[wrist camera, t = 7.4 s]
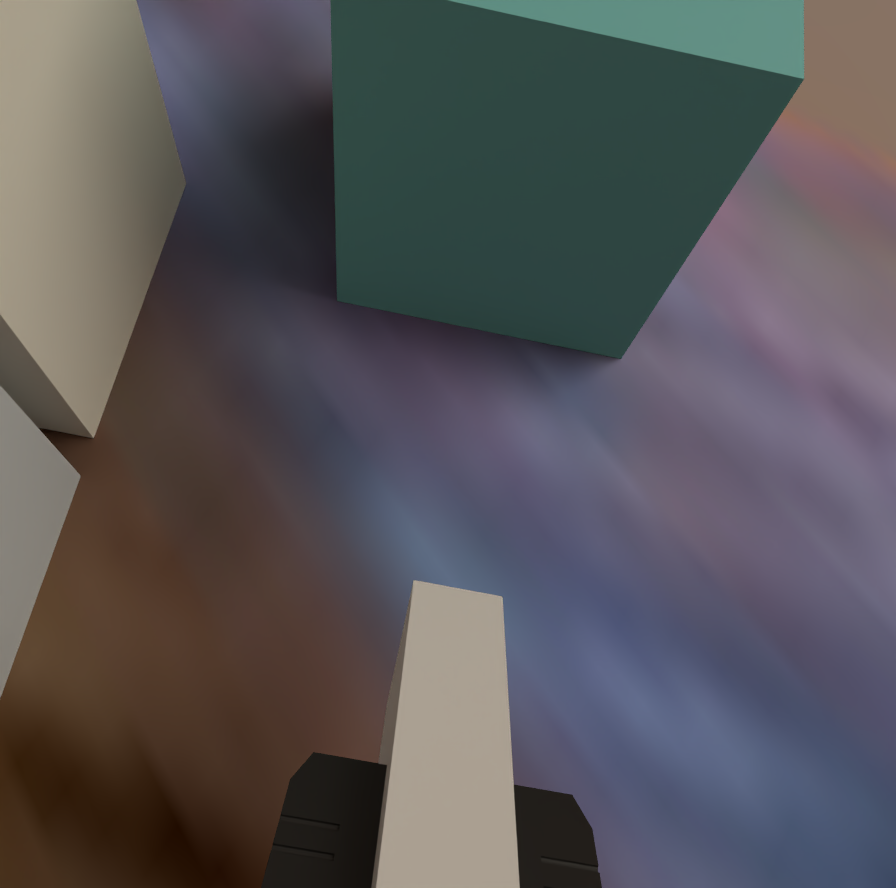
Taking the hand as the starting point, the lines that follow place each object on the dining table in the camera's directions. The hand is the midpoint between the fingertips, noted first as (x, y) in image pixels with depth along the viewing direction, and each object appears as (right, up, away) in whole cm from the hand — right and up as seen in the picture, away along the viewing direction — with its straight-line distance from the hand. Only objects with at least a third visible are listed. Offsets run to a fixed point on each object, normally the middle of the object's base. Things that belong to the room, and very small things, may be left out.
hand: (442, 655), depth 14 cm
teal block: (+2, +10, +10) cm, 15 cm away
